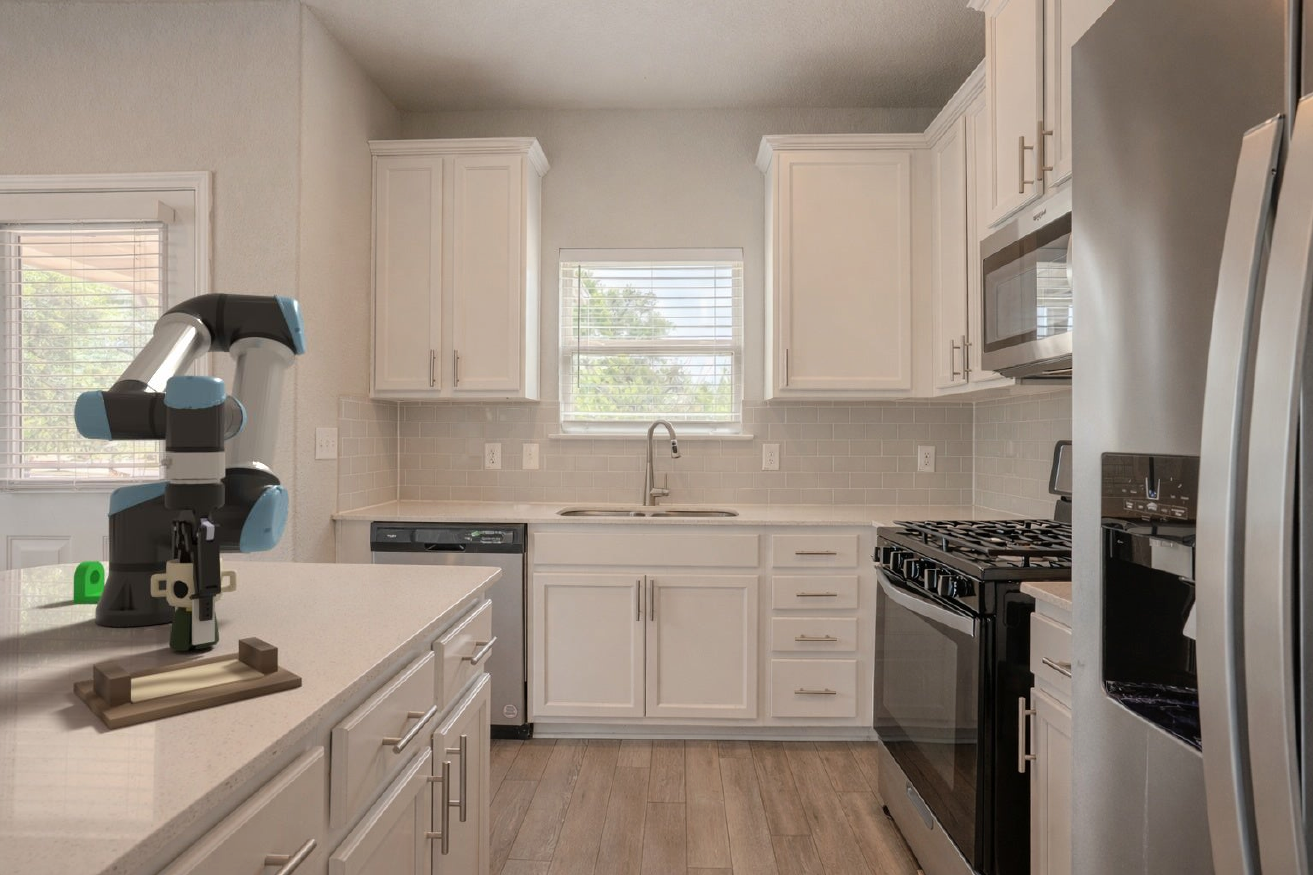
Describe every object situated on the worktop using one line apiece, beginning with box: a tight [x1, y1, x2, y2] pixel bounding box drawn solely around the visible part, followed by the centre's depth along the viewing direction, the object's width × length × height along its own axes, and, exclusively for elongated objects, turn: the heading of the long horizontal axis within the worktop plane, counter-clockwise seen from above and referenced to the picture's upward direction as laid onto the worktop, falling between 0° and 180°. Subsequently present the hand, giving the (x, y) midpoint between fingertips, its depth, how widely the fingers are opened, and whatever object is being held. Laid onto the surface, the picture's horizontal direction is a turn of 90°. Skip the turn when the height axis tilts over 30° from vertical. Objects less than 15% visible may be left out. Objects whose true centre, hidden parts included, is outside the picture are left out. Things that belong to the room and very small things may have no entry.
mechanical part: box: [73, 560, 106, 604], centre depth 148 cm, size 12×6×8 cm, turn 4°
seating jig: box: [73, 636, 303, 730], centre depth 95 cm, size 18×20×4 cm
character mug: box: [151, 557, 238, 651], centre depth 112 cm, size 11×7×13 cm, turn 116°
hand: (194, 637), depth 112 cm, fingers closed on character mug, 7 cm apart
